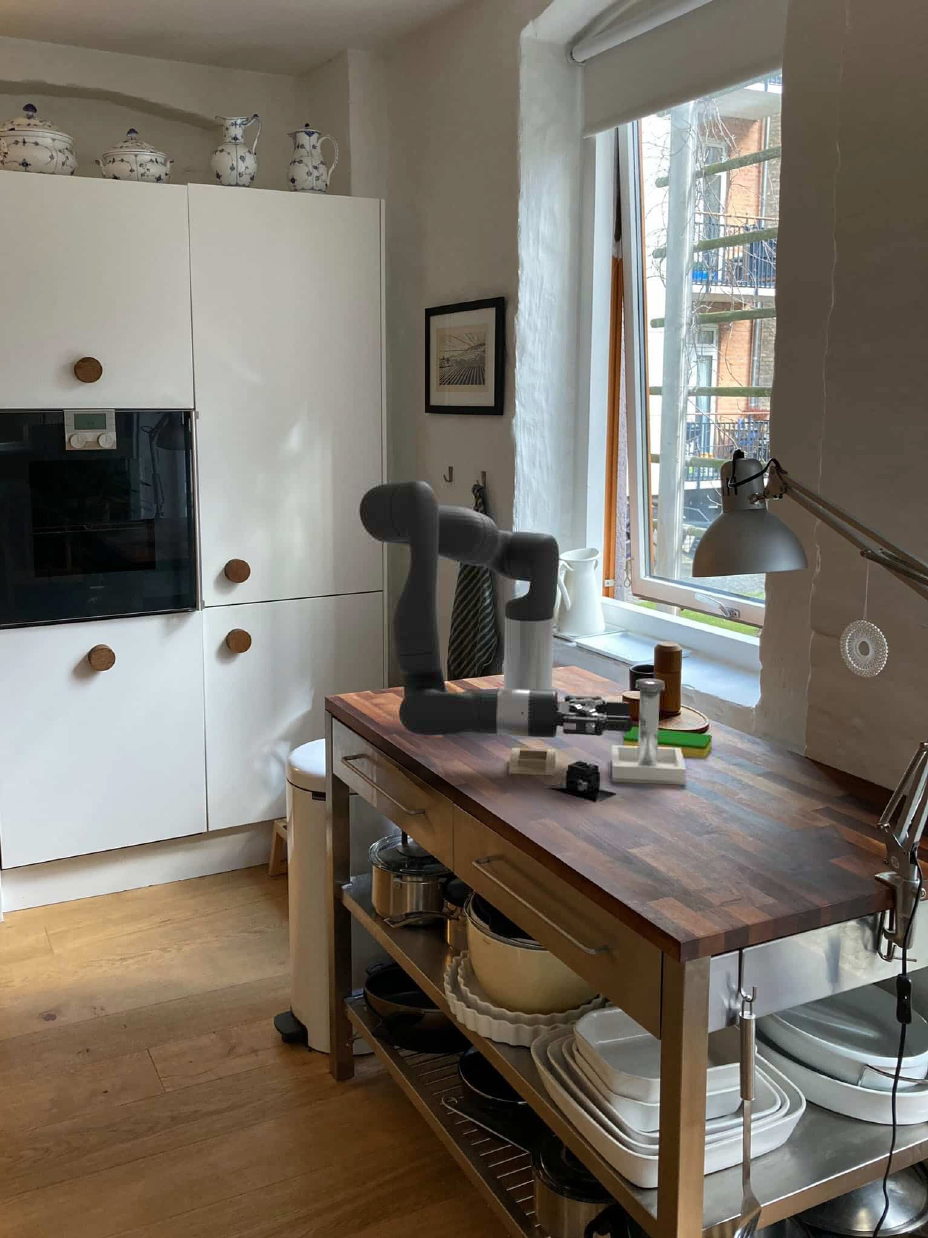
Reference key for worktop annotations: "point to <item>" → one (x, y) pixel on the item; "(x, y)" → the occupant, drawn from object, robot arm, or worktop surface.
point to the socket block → (532, 761)
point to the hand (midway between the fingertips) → (630, 716)
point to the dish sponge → (675, 741)
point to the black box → (580, 789)
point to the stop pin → (648, 720)
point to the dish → (664, 773)
